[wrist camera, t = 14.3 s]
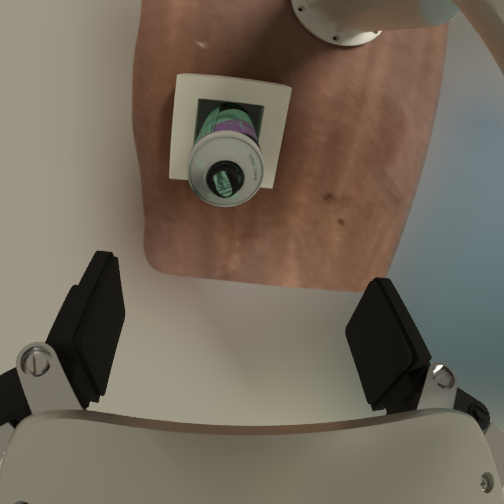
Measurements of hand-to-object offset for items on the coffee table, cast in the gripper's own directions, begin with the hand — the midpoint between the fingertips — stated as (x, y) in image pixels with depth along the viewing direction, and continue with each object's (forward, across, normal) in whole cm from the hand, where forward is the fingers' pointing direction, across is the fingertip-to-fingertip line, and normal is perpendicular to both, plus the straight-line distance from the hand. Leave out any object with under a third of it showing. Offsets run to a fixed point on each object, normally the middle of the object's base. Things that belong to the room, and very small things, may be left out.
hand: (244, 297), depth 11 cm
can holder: (+30, +1, 0) cm, 30 cm away
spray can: (+30, +1, 0) cm, 30 cm away
